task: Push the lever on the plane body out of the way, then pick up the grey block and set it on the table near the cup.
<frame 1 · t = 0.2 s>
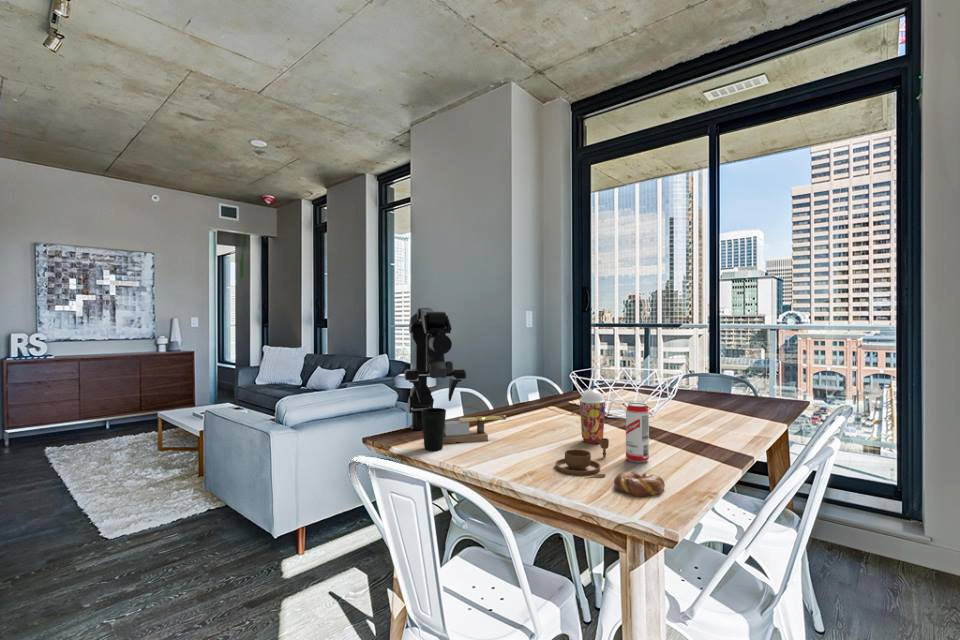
hand: (435, 401, 149), 14 cm above the table, tool pointing down, fingers open, 9 cm apart
lever: (483, 418, 161), point 7 cm above the table, hinge at 0.0°
place setting: (590, 469, 130), on the table
beer can: (637, 460, 136), on the table
pretzel: (639, 490, 113), on the table
plane body: (460, 440, 158), on the table
grey block: (455, 434, 158), point 2 cm above the table, touching plane body
smoothie: (592, 442, 157), on the table
cup: (433, 449, 148), on the table
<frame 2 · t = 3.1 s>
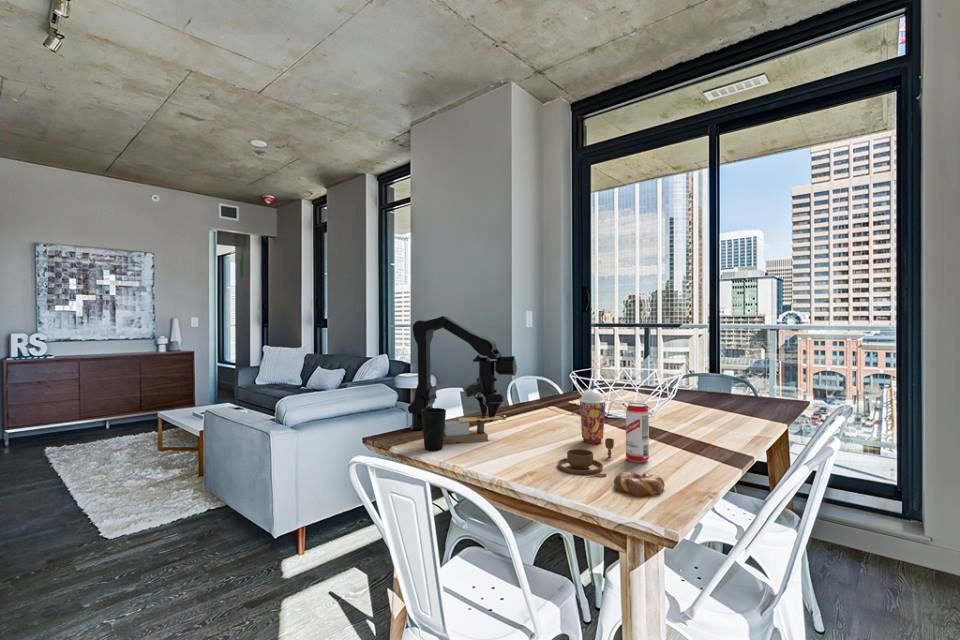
hand: (486, 419, 168), 5 cm above the table, tool pointing down, fingers open, 8 cm apart
lever: (483, 418, 161), point 7 cm above the table, hinge at -1.3°, touching gripper
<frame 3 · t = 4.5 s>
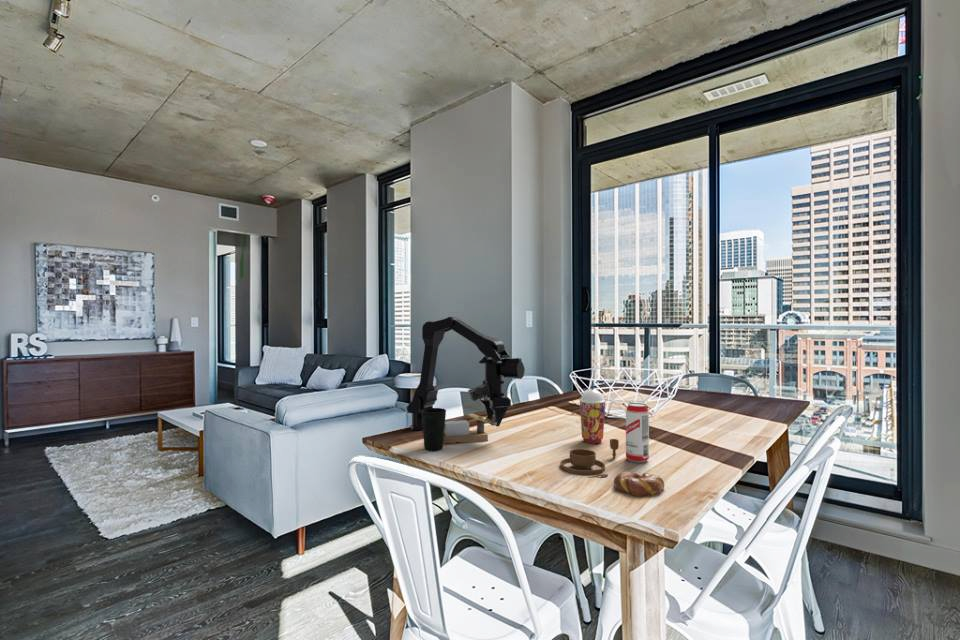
hand: (493, 423, 160), 5 cm above the table, tool pointing down, fingers open, 8 cm apart
lever: (482, 419, 160), point 7 cm above the table, hinge at -73.8°, touching gripper
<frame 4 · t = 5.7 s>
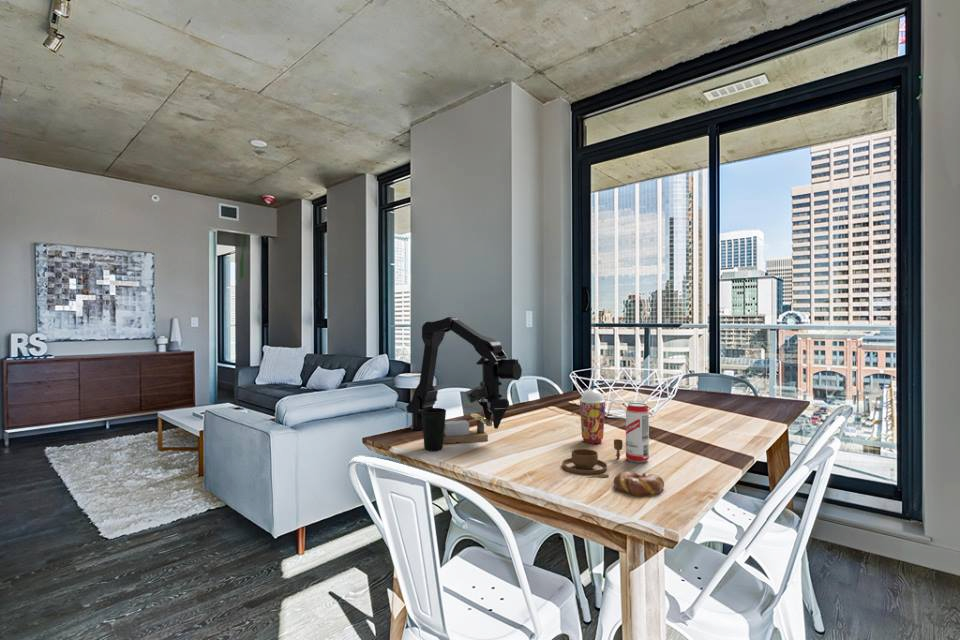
hand: (491, 425, 158), 5 cm above the table, tool pointing down
lever: (481, 419, 160), point 7 cm above the table, hinge at -86.3°, touching gripper
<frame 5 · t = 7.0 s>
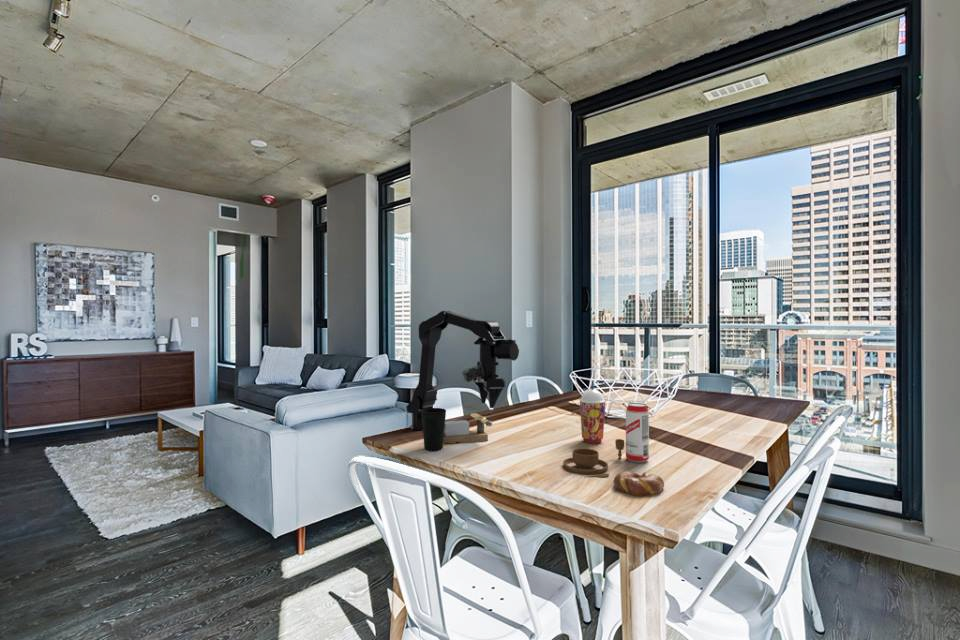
hand: (487, 405, 158), 12 cm above the table, tool pointing down, fingers open, 9 cm apart
lever: (481, 419, 160), point 7 cm above the table, hinge at -86.4°
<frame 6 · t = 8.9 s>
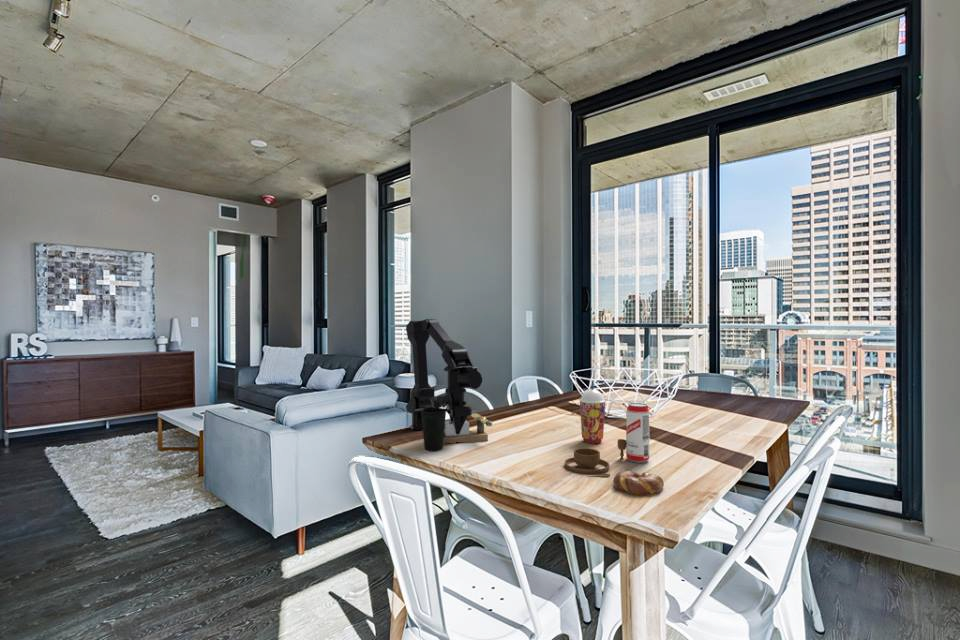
hand: (455, 432, 158), 3 cm above the table, tool pointing down, fingers closed on grey block, 4 cm apart
grey block: (455, 434, 158), point 2 cm above the table, touching gripper, plane body
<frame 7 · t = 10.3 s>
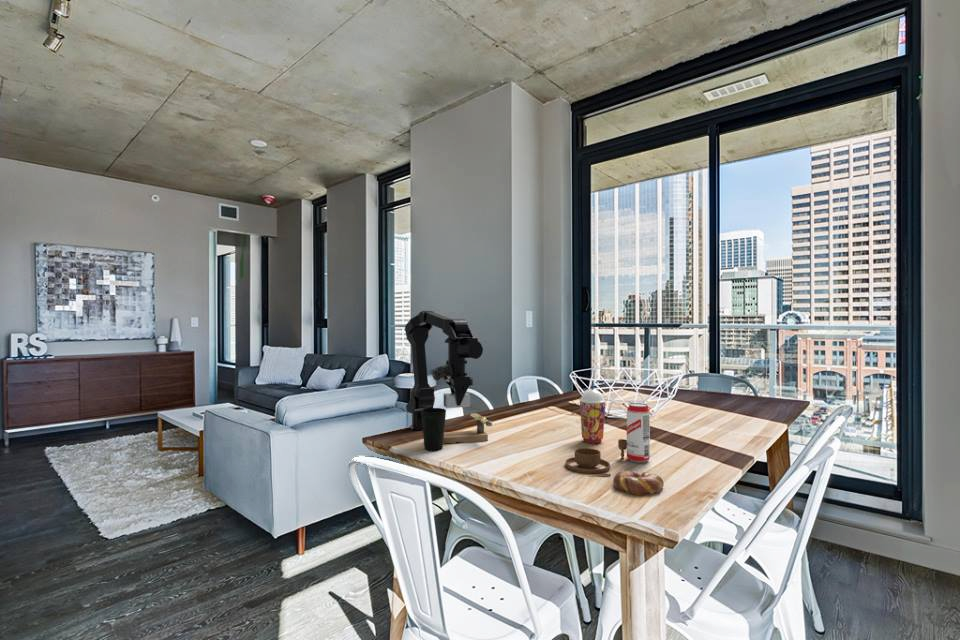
hand: (456, 404, 157), 12 cm above the table, tool pointing down, fingers closed on grey block, 4 cm apart
grey block: (456, 406, 157), point 11 cm above the table, touching gripper
when the fingers open (2 cm above the table, at t = 13.1 s): grey block drops 2 cm, on the table.
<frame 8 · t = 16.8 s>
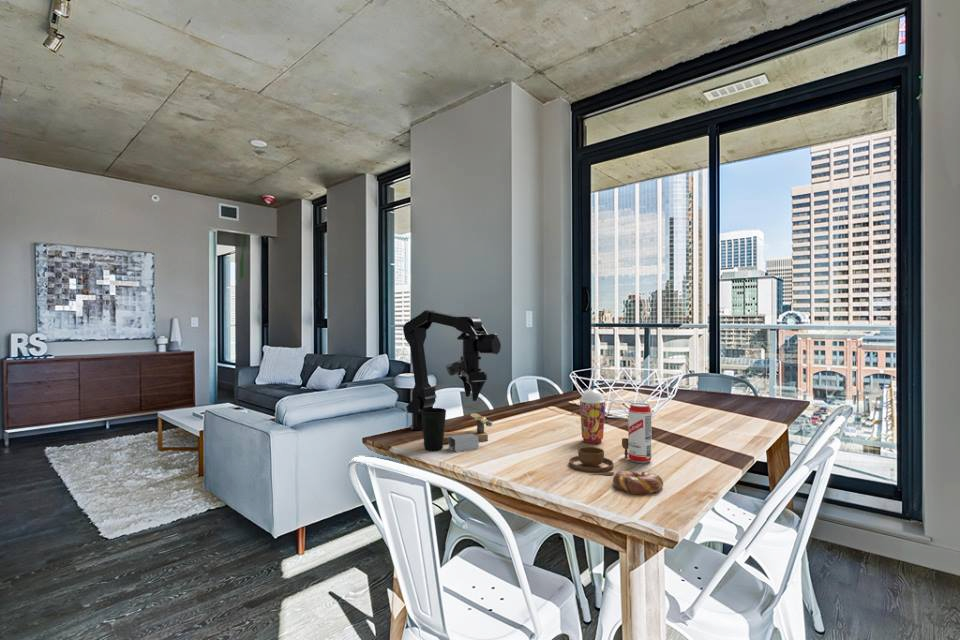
hand: (470, 398, 163), 13 cm above the table, tool pointing down, fingers open, 9 cm apart
place setting: (605, 467, 132), on the table
grey block: (463, 449, 148), on the table
at the end: lever at -86° (first picture: +0°); grey block inside the target area (0.0 cm from its centre), on the table; grey block tilted 0° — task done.
